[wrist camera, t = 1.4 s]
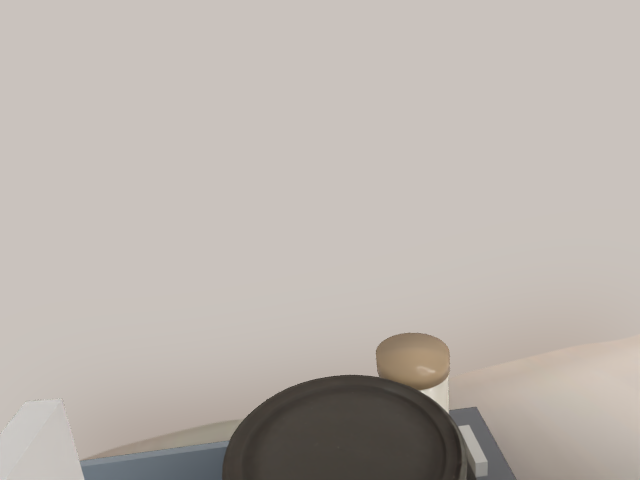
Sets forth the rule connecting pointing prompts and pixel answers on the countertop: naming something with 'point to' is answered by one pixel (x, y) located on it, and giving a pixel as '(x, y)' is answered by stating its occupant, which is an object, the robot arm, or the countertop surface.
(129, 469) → the tray
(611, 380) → the countertop surface
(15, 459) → the robot arm
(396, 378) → the spice jar
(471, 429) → the grey holder base
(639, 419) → the countertop surface
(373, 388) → the coffee can
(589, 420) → the countertop surface
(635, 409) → the countertop surface
